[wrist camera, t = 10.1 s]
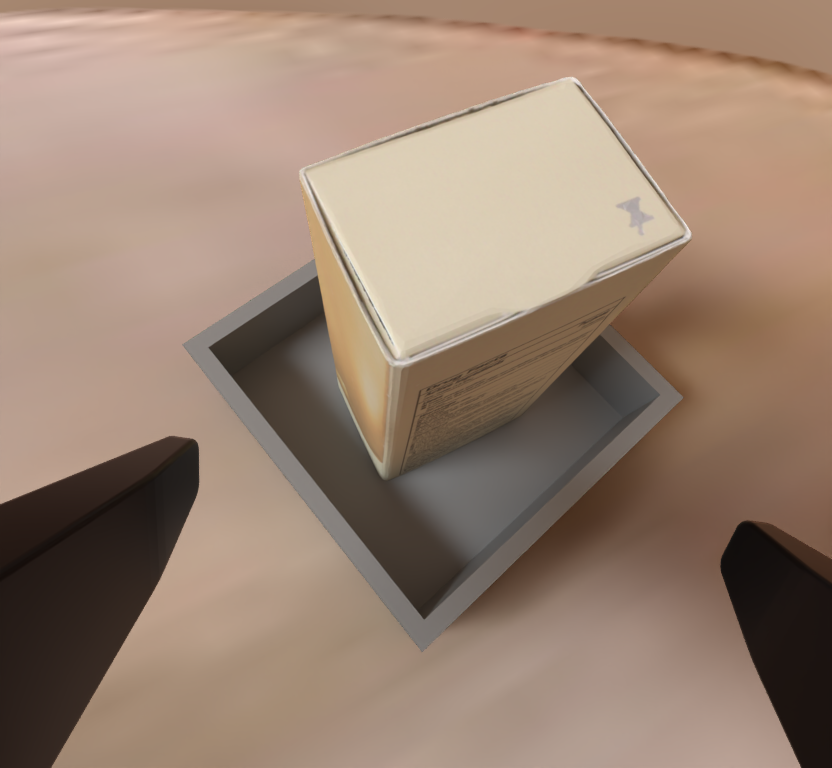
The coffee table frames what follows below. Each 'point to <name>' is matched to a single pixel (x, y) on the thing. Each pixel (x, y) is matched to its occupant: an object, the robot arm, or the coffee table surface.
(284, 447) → the tray
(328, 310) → the skincare box
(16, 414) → the coffee table surface
